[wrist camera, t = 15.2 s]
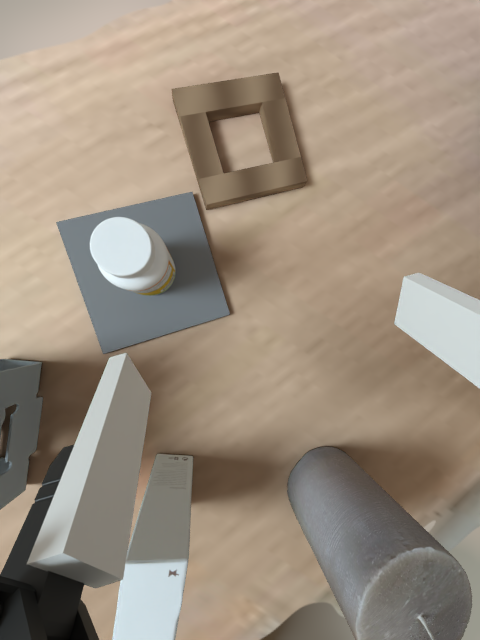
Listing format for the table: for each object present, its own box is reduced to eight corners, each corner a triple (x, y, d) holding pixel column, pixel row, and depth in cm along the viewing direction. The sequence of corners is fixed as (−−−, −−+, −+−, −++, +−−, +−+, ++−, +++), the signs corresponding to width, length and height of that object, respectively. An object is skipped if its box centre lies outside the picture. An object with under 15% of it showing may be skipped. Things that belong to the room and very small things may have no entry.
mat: (192, 194, 27) (192, 191, 26) (229, 314, 28) (229, 314, 27) (59, 224, 25) (56, 222, 24) (105, 353, 26) (103, 353, 25)
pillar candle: (357, 511, 32) (496, 684, 17) (287, 527, 30) (373, 733, 15) (354, 439, 31) (494, 552, 17) (283, 451, 30) (367, 589, 15)
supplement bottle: (119, 248, 25) (70, 208, 16) (172, 243, 26) (156, 202, 16) (127, 299, 25) (84, 291, 16) (179, 293, 26) (168, 281, 17)
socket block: (274, 84, 28) (278, 72, 27) (302, 187, 29) (307, 180, 28) (172, 100, 26) (171, 89, 25) (206, 210, 27) (206, 204, 26)
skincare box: (155, 452, 27) (122, 560, 15) (193, 454, 28) (190, 559, 16) (147, 505, 27) (107, 654, 15) (185, 506, 28) (176, 649, 16)
